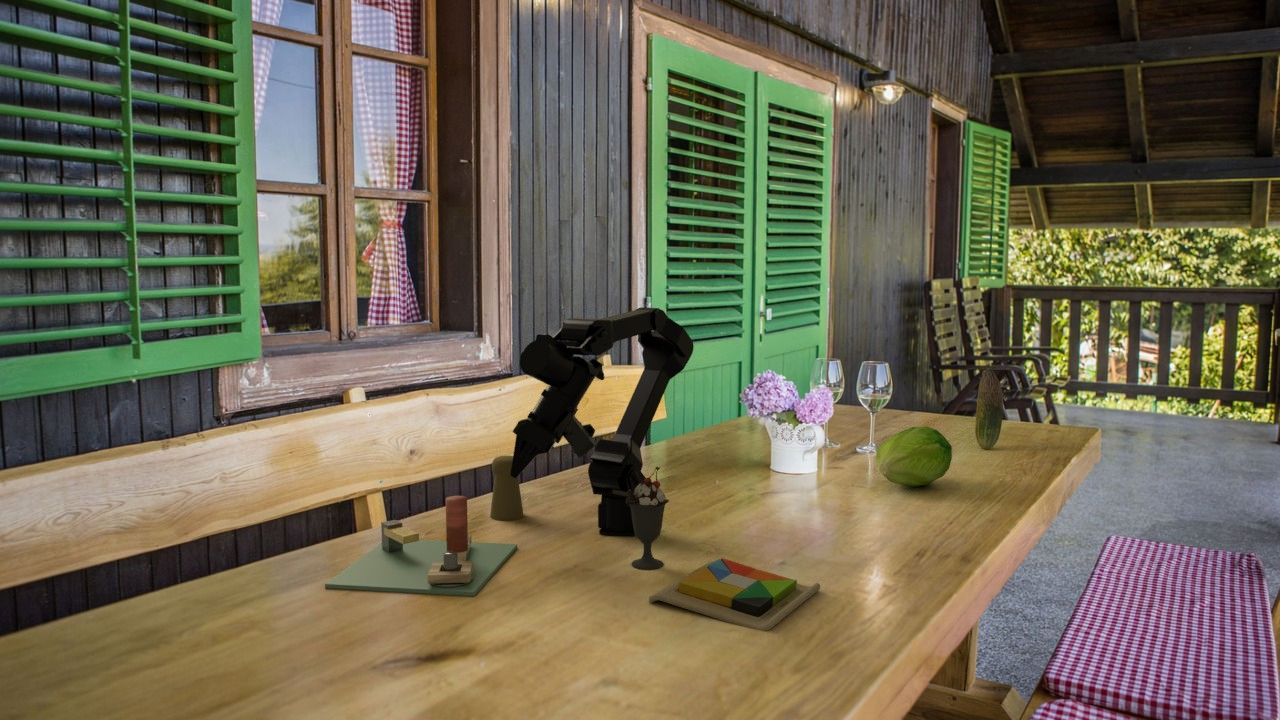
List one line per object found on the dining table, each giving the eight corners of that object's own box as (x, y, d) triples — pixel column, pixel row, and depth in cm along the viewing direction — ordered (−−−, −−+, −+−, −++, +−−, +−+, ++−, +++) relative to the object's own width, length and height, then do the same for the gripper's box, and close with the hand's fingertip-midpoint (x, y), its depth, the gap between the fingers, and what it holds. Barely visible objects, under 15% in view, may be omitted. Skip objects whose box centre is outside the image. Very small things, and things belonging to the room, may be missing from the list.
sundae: (674, 560, 146) (675, 465, 144) (661, 573, 140) (661, 475, 138) (634, 555, 148) (634, 462, 146) (619, 568, 142) (619, 471, 140)
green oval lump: (850, 490, 189) (852, 432, 188) (903, 474, 203) (904, 420, 202) (912, 503, 179) (914, 442, 178) (963, 485, 193) (965, 428, 192)
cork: (517, 521, 167) (516, 460, 166) (485, 519, 168) (484, 459, 167) (527, 512, 173) (527, 453, 172) (496, 510, 174) (496, 452, 173)
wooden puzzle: (772, 637, 118) (773, 610, 117) (644, 607, 128) (644, 582, 127) (823, 595, 132) (823, 571, 132) (705, 571, 142) (705, 548, 142)
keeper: (381, 553, 149) (380, 522, 148) (396, 549, 151) (395, 519, 150) (403, 565, 143) (403, 533, 143) (419, 561, 145) (418, 530, 144)
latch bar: (469, 582, 132) (468, 518, 131) (427, 583, 132) (426, 519, 131) (480, 541, 151) (479, 486, 150) (444, 542, 150) (443, 486, 149)
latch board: (517, 547, 152) (517, 544, 152) (474, 596, 130) (473, 592, 130) (388, 541, 155) (388, 538, 155) (324, 588, 133) (324, 583, 133)
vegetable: (971, 445, 234) (974, 366, 232) (997, 446, 234) (1001, 366, 231) (976, 450, 228) (980, 369, 226) (1003, 451, 228) (1007, 369, 225)
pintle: (479, 577, 138) (478, 547, 137) (465, 593, 131) (464, 561, 131) (437, 575, 139) (437, 545, 138) (421, 590, 132) (420, 559, 132)
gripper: (604, 423, 139) (549, 513, 139) (610, 415, 157) (562, 494, 158) (540, 384, 139) (486, 474, 139) (554, 380, 158) (505, 459, 158)
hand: (513, 476), depth 148 cm, fingers closed
